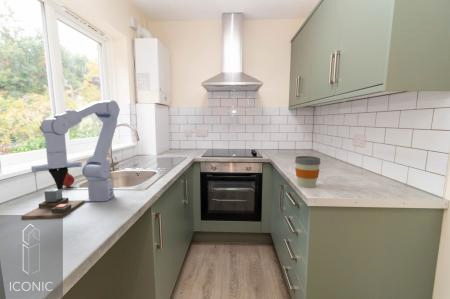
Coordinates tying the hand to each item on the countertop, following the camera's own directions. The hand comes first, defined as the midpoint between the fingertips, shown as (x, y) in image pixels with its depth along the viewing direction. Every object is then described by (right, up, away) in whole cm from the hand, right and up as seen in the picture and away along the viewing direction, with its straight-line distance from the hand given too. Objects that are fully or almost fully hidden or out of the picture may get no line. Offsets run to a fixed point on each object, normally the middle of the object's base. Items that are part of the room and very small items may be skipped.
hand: (59, 188), depth 83 cm
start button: (0, -8, +1) cm, 8 cm away
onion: (-21, -5, +35) cm, 41 cm away
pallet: (-5, -9, +4) cm, 11 cm away
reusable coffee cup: (+104, -5, +38) cm, 111 cm away
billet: (-8, -8, +7) cm, 13 cm away
